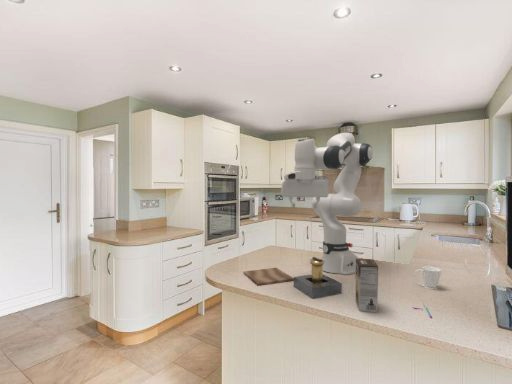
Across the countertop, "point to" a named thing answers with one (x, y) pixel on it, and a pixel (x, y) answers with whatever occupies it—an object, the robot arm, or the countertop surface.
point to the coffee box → (366, 285)
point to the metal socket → (317, 286)
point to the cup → (430, 276)
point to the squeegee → (427, 311)
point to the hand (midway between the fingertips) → (304, 207)
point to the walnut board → (268, 276)
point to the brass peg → (316, 270)
